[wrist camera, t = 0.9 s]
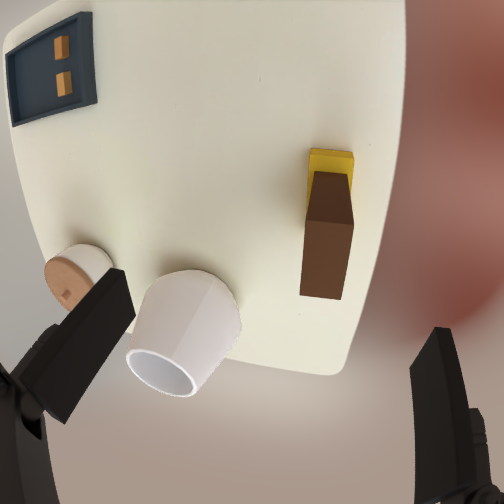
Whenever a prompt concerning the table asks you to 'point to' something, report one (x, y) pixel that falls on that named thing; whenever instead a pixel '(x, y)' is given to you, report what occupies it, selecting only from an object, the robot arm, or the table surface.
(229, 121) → the table surface
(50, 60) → the tray
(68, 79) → the crumb
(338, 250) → the brush
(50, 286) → the trinket box
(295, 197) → the table surface
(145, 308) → the white vase
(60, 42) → the crumb
